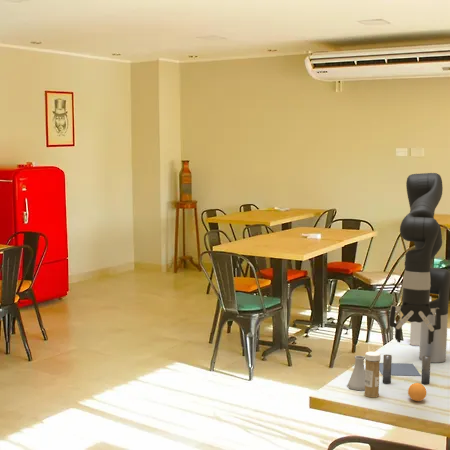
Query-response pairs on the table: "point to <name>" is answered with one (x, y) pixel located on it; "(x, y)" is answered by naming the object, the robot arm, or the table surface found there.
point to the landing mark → (401, 369)
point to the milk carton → (415, 332)
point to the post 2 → (426, 370)
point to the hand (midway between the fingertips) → (413, 342)
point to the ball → (417, 392)
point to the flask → (358, 375)
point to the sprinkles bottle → (372, 374)
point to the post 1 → (387, 369)
